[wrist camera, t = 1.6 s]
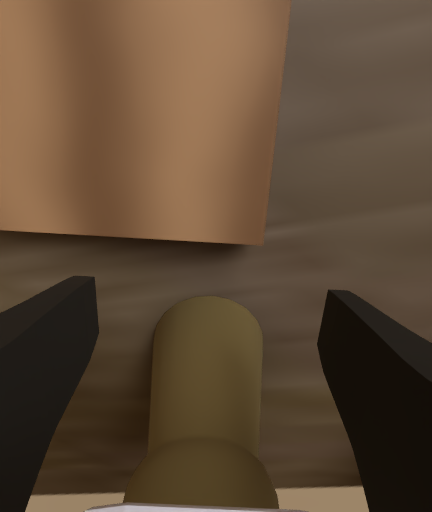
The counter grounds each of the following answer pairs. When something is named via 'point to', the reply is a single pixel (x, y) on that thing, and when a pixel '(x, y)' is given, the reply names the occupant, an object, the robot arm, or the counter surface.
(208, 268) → the counter surface
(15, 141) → the tan flat block
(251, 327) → the olive rounded piece
